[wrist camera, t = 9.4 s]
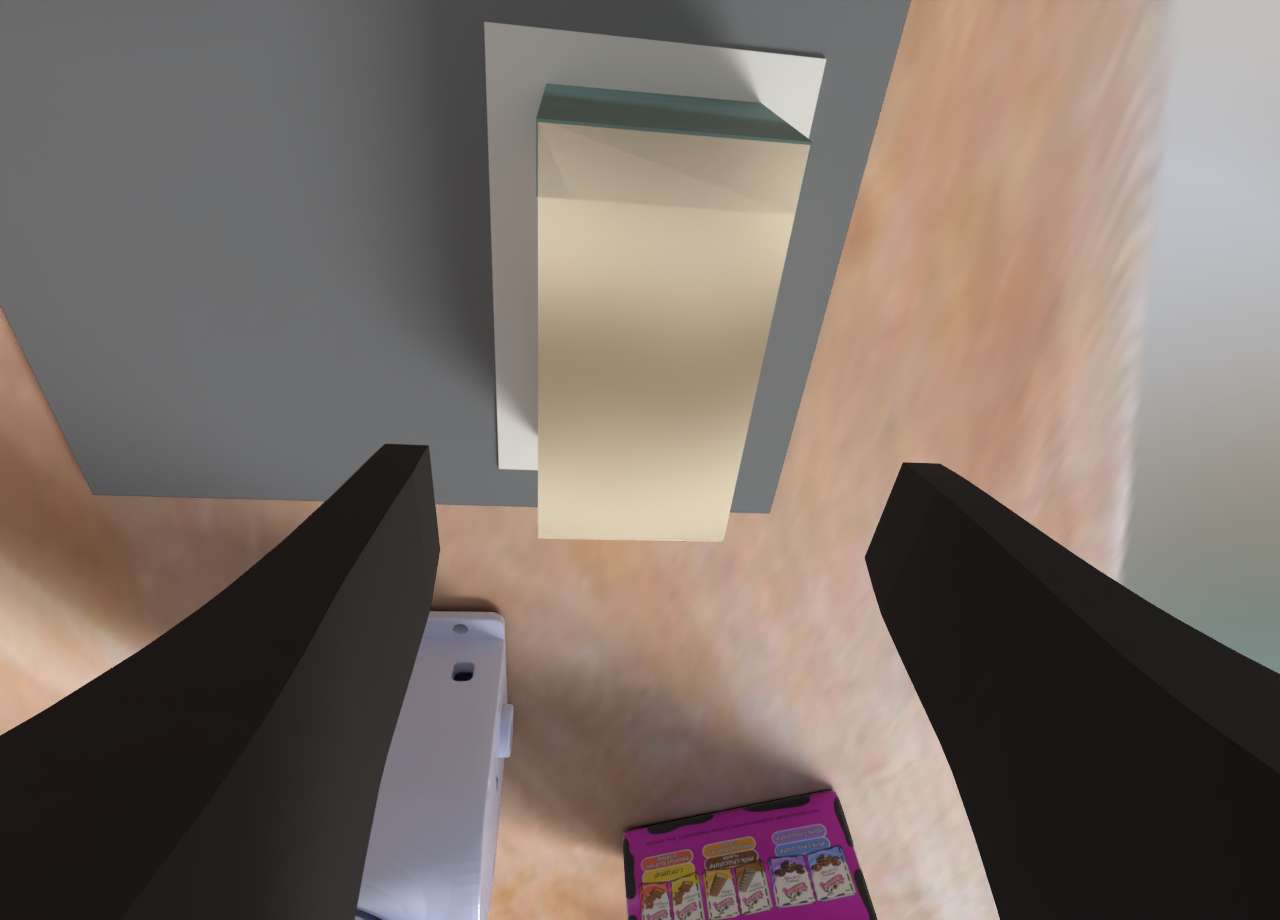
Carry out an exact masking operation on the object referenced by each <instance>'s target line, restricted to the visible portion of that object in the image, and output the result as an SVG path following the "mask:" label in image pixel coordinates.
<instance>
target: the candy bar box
mask: <svg viewBox="0 0 1280 920" xmlns="http://www.w3.org/2000/svg"><path fill="white" fill-rule="evenodd" d="M623 851H624V871H625V886H626V903H627V919H628V920H877V917H876V914H875V910H874V907H873V904H872V901H871V898H870V895H869V892H868V889H867V885H866V882H865V879H864V876H863V873H862V870H861V867H860V864H859V861H858V858H857V855H856V852H855V849H854V845H853V841H852V838H851V834H850V831H849V828H848V825H847V822H846V818H845V815H844V812H843V809H842V806H841V803H840V801H839V798H838V796H837V794H836V792H835V791H823V792H818V793H813V794H808V795H803V796H798V797H792V798H787V799H782V800H777V801H772V802H767V803H761V804H757V805H752V806H747V807H742V808H736V809H731V810H727V811H722V812H717V813H712V814H707V815H702V816H697V817H692V818H687V819H682V820H677V821H672V822H667V823H662V824H658V825H652V826H647V827H643V828H637V829H632V830H628V831H626V832H624V833H623Z"/></svg>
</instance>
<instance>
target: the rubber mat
mask: <svg viewBox="0 0 1280 920" xmlns="http://www.w3.org/2000/svg"><path fill="white" fill-rule="evenodd" d="M910 3H911V0H0V306H1V308H2V310H3V312H4V314H5V316H6V318H7V320H8V322H9V324H10V326H11V328H12V330H13V332H14V335H15V337H16V339H17V341H18V343H19V345H20V347H21V349H22V351H23V353H24V355H25V357H26V359H27V361H28V363H29V365H30V367H31V369H32V371H33V373H34V375H35V377H36V379H37V381H38V384H39V386H40V388H41V390H42V392H43V394H44V396H45V398H46V400H47V402H48V404H49V406H50V408H51V410H52V412H53V414H54V416H55V418H56V420H57V422H58V424H59V426H60V428H61V430H62V433H63V435H64V437H65V439H66V441H67V443H68V445H69V447H70V449H71V451H72V453H73V455H74V457H75V459H76V461H77V463H78V465H79V467H80V469H81V471H82V473H83V475H84V477H85V479H86V482H87V484H88V486H89V488H90V490H91V492H92V494H93V495H116V496H153V497H189V498H226V499H262V500H298V501H326V500H327V499H328V498H329V497H330V496H332V495H333V494H334V493H335V492H336V491H337V490H338V489H339V488H340V487H341V486H342V485H343V484H344V483H345V482H346V481H347V480H348V479H349V478H350V477H351V476H352V475H353V474H354V473H355V472H356V471H357V470H358V469H359V468H360V467H361V466H362V465H363V464H364V463H365V462H366V461H367V460H368V459H369V458H370V457H371V456H372V455H373V454H374V453H375V452H377V451H378V450H379V449H380V448H381V447H382V446H383V445H384V444H407V445H429V451H430V460H431V470H432V479H433V488H434V498H435V504H444V505H480V506H517V507H538V197H536V117H537V113H538V110H539V107H540V103H541V100H542V96H543V93H544V90H545V86H546V83H548V84H559V85H570V86H581V87H592V88H603V89H614V90H625V91H636V92H647V93H658V94H669V95H680V96H691V97H702V98H713V99H724V100H735V101H746V102H757V103H762V104H763V105H764V106H766V107H767V108H768V109H770V110H771V111H772V112H774V113H775V114H776V115H778V116H779V117H780V118H782V119H783V120H784V121H786V122H787V123H788V124H790V125H791V126H792V127H794V128H795V129H796V130H798V131H799V132H800V133H802V134H803V135H804V136H806V137H807V138H808V139H810V140H811V141H812V142H813V144H812V148H811V153H810V157H809V162H808V167H807V171H806V176H805V180H804V185H803V189H802V194H801V198H800V203H799V207H798V212H797V216H796V215H795V218H794V222H793V227H792V231H791V236H790V240H789V245H788V250H787V254H786V259H785V263H784V268H783V272H782V277H781V281H780V286H779V290H778V295H777V299H776V304H775V309H774V313H773V318H772V322H771V327H770V331H769V336H768V340H767V345H766V349H765V354H764V359H763V363H762V368H761V372H760V377H759V381H758V386H757V390H756V395H755V399H754V404H753V409H752V413H751V418H750V422H749V427H748V431H747V436H746V440H745V445H744V449H743V454H742V459H741V463H740V468H739V472H738V477H737V481H736V486H735V490H734V495H733V499H732V504H731V509H730V512H735V513H770V511H771V507H772V503H773V500H774V496H775V492H776V489H777V485H778V482H779V478H780V474H781V471H782V467H783V463H784V460H785V456H786V452H787V449H788V445H789V442H790V438H791V434H792V431H793V427H794V423H795V420H796V416H797V413H798V409H799V405H800V402H801V398H802V394H803V391H804V387H805V384H806V380H807V376H808V373H809V369H810V365H811V362H812V358H813V355H814V351H815V347H816V344H817V340H818V336H819V333H820V329H821V326H822V322H823V318H824V315H825V311H826V307H827V304H828V300H829V297H830V293H831V289H832V286H833V282H834V278H835V275H836V271H837V267H838V264H839V260H840V257H841V253H842V249H843V246H844V242H845V238H846V235H847V231H848V228H849V224H850V220H851V217H852V213H853V209H854V206H855V202H856V199H857V195H858V191H859V188H860V184H861V180H862V177H863V173H864V170H865V166H866V162H867V159H868V155H869V151H870V148H871V144H872V141H873V137H874V133H875V130H876V126H877V122H878V119H879V115H880V112H881V108H882V104H883V101H884V97H885V93H886V90H887V86H888V82H889V79H890V75H891V72H892V68H893V64H894V61H895V57H896V53H897V50H898V46H899V43H900V39H901V35H902V32H903V28H904V24H905V21H906V17H907V14H908V10H909V6H910Z"/></svg>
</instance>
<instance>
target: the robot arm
mask: <svg viewBox="0 0 1280 920" xmlns="http://www.w3.org/2000/svg"><path fill="white" fill-rule="evenodd" d="M439 553H440V545H439V536H438V526H437V517H436V507H435V498H434V488H433V479H432V470H431V460H430V451H429V445H407V444H384V445H383V446H382V447H381V448H380V449H379V450H378V451H377V452H375V453H374V454H373V455H372V456H371V457H370V458H369V459H368V460H367V461H366V462H365V463H364V464H363V465H362V466H361V467H360V468H359V469H358V470H357V471H356V472H355V473H354V474H353V475H352V476H351V477H350V478H349V479H348V480H347V481H346V482H345V483H344V484H343V485H342V486H341V487H340V488H339V489H338V490H337V491H336V492H335V493H334V494H333V495H332V496H330V497H329V498H328V499H327V500H326V501H325V502H324V503H323V504H322V505H321V506H320V507H319V508H318V509H317V510H316V511H315V512H314V513H312V514H311V515H310V516H309V517H308V518H307V519H306V520H305V521H304V522H303V523H302V524H301V525H299V526H298V527H297V528H296V529H295V530H294V531H293V532H292V533H291V534H290V535H289V536H288V537H286V538H285V539H284V540H283V541H282V542H281V543H280V544H278V545H277V546H276V547H275V548H274V549H273V550H271V551H270V552H269V553H268V554H267V555H265V556H264V557H263V558H262V559H261V560H259V561H258V562H257V563H256V564H255V565H253V566H252V567H251V568H250V569H249V570H248V571H246V572H245V573H244V574H243V575H242V576H240V577H239V578H238V579H237V580H236V581H234V582H233V583H232V584H231V585H229V586H228V587H227V588H226V589H224V590H223V591H222V592H221V593H219V594H218V595H217V596H215V597H214V598H213V599H212V600H210V601H209V602H208V603H206V604H205V605H204V606H202V607H201V608H200V609H198V610H197V611H196V612H194V613H193V614H191V615H190V616H188V617H187V618H186V619H184V620H183V621H181V622H180V623H179V624H177V625H176V626H174V627H173V628H172V629H170V630H169V631H167V632H166V633H164V634H163V635H162V636H160V637H159V638H157V639H156V640H155V641H153V642H152V643H150V644H149V645H147V646H146V647H144V648H143V649H141V650H140V651H138V652H137V653H135V654H134V655H132V656H130V657H129V658H127V659H126V660H124V661H122V662H121V663H119V664H118V665H116V666H114V667H113V668H111V669H110V670H108V671H106V672H105V673H103V674H102V675H100V676H98V677H97V678H95V679H94V680H92V681H90V682H89V683H87V684H86V685H84V686H82V687H81V688H79V689H78V690H76V691H74V692H73V693H71V694H70V695H68V696H67V697H65V698H63V699H62V700H60V701H59V702H57V703H55V704H54V705H52V706H51V707H49V708H47V709H46V710H44V711H42V712H41V713H39V714H37V715H35V716H34V717H32V718H30V719H29V720H27V721H25V722H23V723H22V724H20V725H18V726H16V727H15V728H13V729H11V730H9V731H8V732H6V733H4V734H2V735H1V736H0V920H488V918H489V911H490V903H491V895H492V887H493V877H494V867H495V856H496V846H497V835H498V825H499V815H500V804H501V794H502V783H503V773H504V762H505V757H509V756H510V755H511V747H512V735H513V705H512V704H507V675H506V643H505V621H504V618H503V617H502V616H501V615H500V614H497V613H495V612H453V611H430V608H431V602H432V596H433V591H434V585H435V579H436V572H437V566H438V559H439ZM865 561H866V564H867V568H868V571H869V575H870V579H871V582H872V586H873V590H874V593H875V596H876V599H877V602H878V605H879V609H880V612H881V615H882V617H883V619H884V622H885V624H886V626H887V629H888V631H889V633H890V635H891V637H892V640H893V642H894V644H895V646H896V649H897V651H898V653H899V655H900V657H901V660H902V662H903V664H904V666H905V668H906V670H907V673H908V675H909V677H910V679H911V681H912V683H913V685H914V688H915V690H916V692H917V694H918V696H919V698H920V701H921V703H922V705H923V707H924V709H925V711H926V714H927V716H928V718H929V720H930V722H931V724H932V726H933V729H934V731H935V733H936V735H937V737H938V739H939V742H940V744H941V746H942V749H943V751H944V753H945V756H946V758H947V761H948V763H949V766H950V768H951V770H952V773H953V776H954V778H955V781H956V784H957V787H958V790H959V793H960V796H961V799H962V802H963V805H964V807H965V810H966V813H967V816H968V819H969V822H970V825H971V828H972V831H973V834H974V837H975V840H976V843H977V846H978V849H979V852H980V856H981V859H982V862H983V865H984V868H985V872H986V875H987V878H988V881H989V884H990V888H991V891H992V894H993V897H994V901H995V904H996V907H997V910H998V914H999V917H1000V920H1280V674H1279V673H1277V672H1274V671H1273V670H1271V669H1269V668H1267V667H1265V666H1263V665H1261V664H1259V663H1257V662H1255V661H1253V660H1251V659H1249V658H1247V657H1245V656H1243V655H1242V654H1240V653H1238V652H1236V651H1234V650H1232V649H1230V648H1228V647H1227V646H1225V645H1223V644H1221V643H1219V642H1218V641H1216V640H1214V639H1212V638H1211V637H1209V636H1207V635H1205V634H1203V633H1202V632H1200V631H1198V630H1196V629H1194V628H1193V627H1191V626H1189V625H1187V624H1185V623H1184V622H1182V621H1180V620H1178V619H1177V618H1175V617H1173V616H1171V615H1170V614H1168V613H1166V612H1165V611H1163V610H1161V609H1160V608H1158V607H1156V606H1155V605H1153V604H1151V603H1150V602H1148V601H1146V600H1145V599H1143V598H1142V597H1140V596H1138V595H1137V594H1135V593H1133V592H1132V591H1130V590H1129V589H1127V588H1126V587H1124V586H1123V585H1121V584H1119V583H1118V582H1116V581H1115V580H1113V579H1111V578H1110V577H1108V576H1107V575H1105V574H1104V573H1102V572H1100V571H1099V570H1097V569H1096V568H1094V567H1093V566H1091V565H1090V564H1088V563H1087V562H1085V561H1084V560H1082V559H1081V558H1079V557H1078V556H1076V555H1075V554H1073V553H1072V552H1070V551H1069V550H1067V549H1066V548H1064V547H1063V546H1062V545H1060V544H1059V543H1057V542H1056V541H1054V540H1053V539H1051V538H1050V537H1048V536H1047V535H1046V534H1044V533H1043V532H1041V531H1040V530H1038V529H1037V528H1035V527H1034V526H1033V525H1031V524H1030V523H1028V522H1027V521H1025V520H1024V519H1023V518H1021V517H1020V516H1018V515H1017V514H1015V513H1014V512H1013V511H1011V510H1010V509H1008V508H1007V507H1005V506H1004V505H1003V504H1001V503H1000V502H998V501H997V500H995V499H994V498H993V497H991V496H990V495H988V494H987V493H985V492H984V491H982V490H981V489H979V488H978V487H976V486H975V485H973V484H972V483H971V482H969V481H967V480H966V479H964V478H963V477H961V476H960V475H958V474H956V473H955V472H953V471H952V470H950V469H948V468H946V467H945V466H943V465H941V464H932V463H904V462H903V464H902V466H901V469H900V471H899V474H898V476H897V479H896V481H895V484H894V486H893V489H892V491H891V494H890V496H889V499H888V501H887V504H886V506H885V508H884V511H883V513H882V516H881V518H880V521H879V523H878V526H877V528H876V531H875V533H874V536H873V538H872V541H871V543H870V546H869V548H868V551H867V553H866V556H865ZM459 624H463V625H459Z"/></svg>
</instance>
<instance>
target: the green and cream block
mask: <svg viewBox="0 0 1280 920" xmlns="http://www.w3.org/2000/svg"><path fill="white" fill-rule="evenodd" d="M812 144H813V142H812V141H811V140H810V139H808V138H807V137H806V136H804V135H803V134H802V133H800V132H799V131H798V130H796V129H795V128H794V127H792V126H791V125H790V124H788V123H787V122H786V121H784V120H783V119H782V118H780V117H779V116H778V115H776V114H775V113H774V112H772V111H771V110H770V109H768V108H767V107H766V106H764V105H763V104H762V103H757V102H746V101H735V100H724V99H713V98H702V97H691V96H680V95H669V94H658V93H647V92H636V91H625V90H614V89H603V88H592V87H581V86H570V85H559V84H548V83H546V86H545V90H544V93H543V96H542V100H541V103H540V107H539V110H538V113H537V117H536V197H538V539H593V540H652V541H711V542H723V540H724V536H725V531H726V527H727V522H728V518H729V513H730V509H731V504H732V499H733V495H734V490H735V486H736V481H737V477H738V472H739V468H740V463H741V459H742V454H743V449H744V445H745V440H746V436H747V431H748V427H749V422H750V418H751V413H752V409H753V404H754V399H755V395H756V390H757V386H758V381H759V377H760V372H761V368H762V363H763V359H764V354H765V349H766V345H767V340H768V336H769V331H770V327H771V322H772V318H773V313H774V309H775V304H776V299H777V295H778V290H779V286H780V281H781V277H782V272H783V268H784V263H785V259H786V254H787V250H788V245H789V240H790V236H791V231H792V227H793V222H794V218H795V215H796V216H797V212H798V207H799V203H800V198H801V194H802V189H803V185H804V180H805V176H806V171H807V167H808V162H809V157H810V153H811V148H812Z"/></svg>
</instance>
